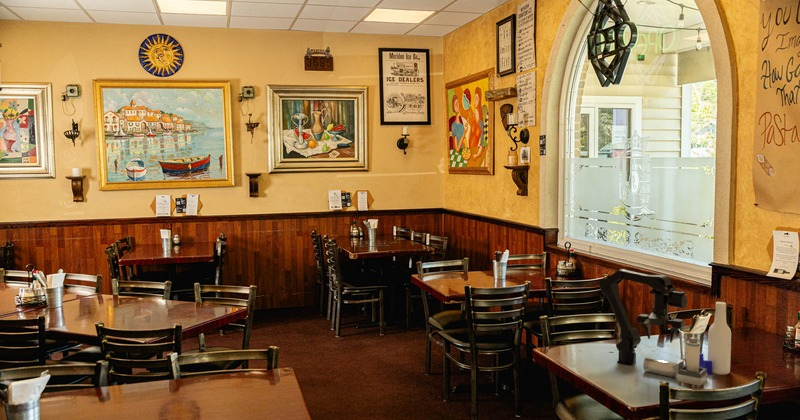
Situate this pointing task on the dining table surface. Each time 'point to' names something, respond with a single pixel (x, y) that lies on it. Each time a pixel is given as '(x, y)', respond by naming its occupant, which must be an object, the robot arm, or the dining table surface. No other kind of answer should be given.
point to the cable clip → (705, 364)
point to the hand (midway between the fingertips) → (659, 340)
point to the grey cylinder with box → (675, 371)
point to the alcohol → (719, 341)
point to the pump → (692, 355)
